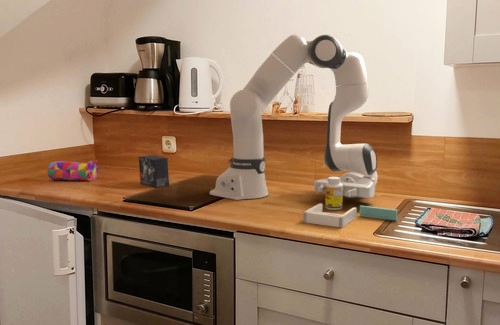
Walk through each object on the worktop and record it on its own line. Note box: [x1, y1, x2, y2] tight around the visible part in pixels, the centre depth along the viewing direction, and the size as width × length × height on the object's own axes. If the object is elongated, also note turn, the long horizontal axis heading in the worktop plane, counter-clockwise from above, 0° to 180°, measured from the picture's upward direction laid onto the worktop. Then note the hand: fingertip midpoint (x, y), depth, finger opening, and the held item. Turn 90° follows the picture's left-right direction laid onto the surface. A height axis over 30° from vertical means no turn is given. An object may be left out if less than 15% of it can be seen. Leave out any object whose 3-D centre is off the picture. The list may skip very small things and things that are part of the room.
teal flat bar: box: [359, 205, 398, 221], centre depth 138 cm, size 11×1×3 cm, turn 58°
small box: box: [138, 154, 170, 189], centre depth 194 cm, size 13×7×12 cm, turn 42°
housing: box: [302, 203, 358, 229], centre depth 138 cm, size 12×12×3 cm
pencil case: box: [47, 160, 101, 182], centre depth 209 cm, size 22×9×9 cm, turn 84°
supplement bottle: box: [324, 176, 344, 211], centre depth 150 cm, size 6×6×10 cm
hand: (333, 192), depth 150 cm, fingers open, 8 cm apart
